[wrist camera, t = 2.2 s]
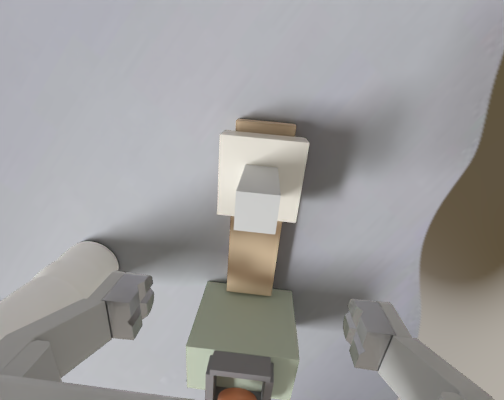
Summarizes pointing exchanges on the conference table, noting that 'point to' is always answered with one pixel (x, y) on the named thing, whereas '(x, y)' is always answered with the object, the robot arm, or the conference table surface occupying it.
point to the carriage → (260, 179)
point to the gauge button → (236, 394)
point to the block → (255, 234)
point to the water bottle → (58, 285)
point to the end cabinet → (243, 343)
